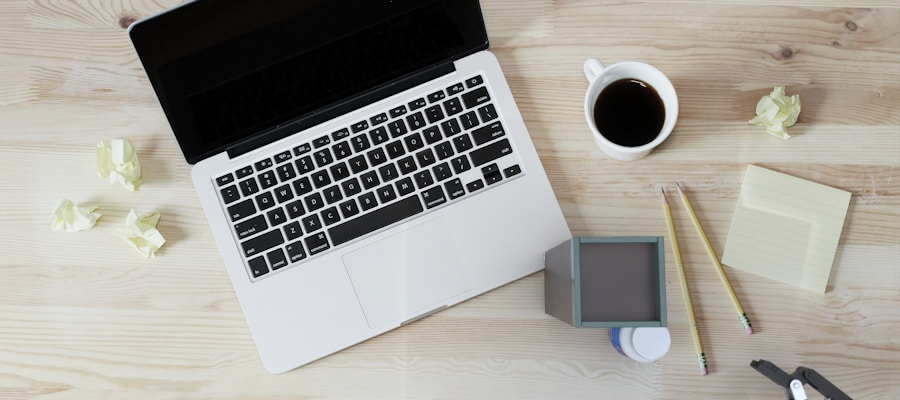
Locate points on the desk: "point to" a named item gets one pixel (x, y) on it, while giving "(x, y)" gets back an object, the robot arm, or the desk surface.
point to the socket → (658, 282)
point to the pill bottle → (641, 342)
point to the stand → (601, 282)
